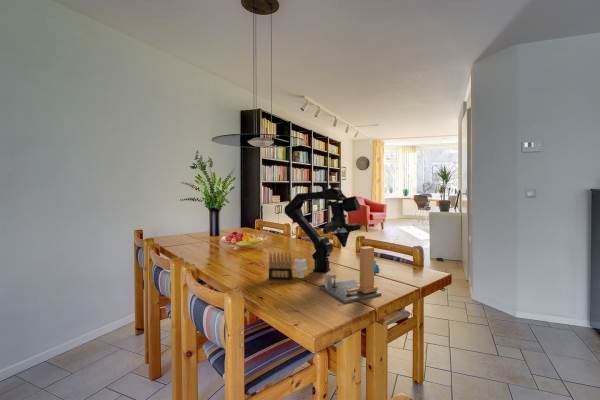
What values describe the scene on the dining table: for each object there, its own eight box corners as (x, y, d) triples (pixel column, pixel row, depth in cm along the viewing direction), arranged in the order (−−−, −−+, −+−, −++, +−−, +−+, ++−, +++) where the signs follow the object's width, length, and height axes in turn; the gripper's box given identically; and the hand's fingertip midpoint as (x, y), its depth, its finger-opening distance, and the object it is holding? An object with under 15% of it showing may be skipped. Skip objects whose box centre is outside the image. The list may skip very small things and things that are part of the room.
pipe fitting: (299, 273, 137) (299, 257, 136) (310, 277, 132) (310, 259, 131) (290, 277, 132) (289, 259, 132) (301, 280, 127) (300, 262, 127)
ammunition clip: (292, 278, 130) (292, 252, 129) (292, 280, 128) (291, 253, 127) (269, 278, 131) (268, 251, 131) (268, 279, 129) (267, 252, 129)
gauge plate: (319, 288, 117) (319, 273, 117) (353, 281, 125) (353, 268, 124) (344, 303, 102) (344, 286, 101) (381, 295, 109) (381, 279, 109)
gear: (375, 272, 133) (362, 254, 137) (366, 279, 135) (353, 262, 140) (384, 269, 142) (371, 253, 146) (375, 276, 144) (362, 260, 149)
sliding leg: (343, 292, 109) (343, 248, 108) (368, 286, 114) (368, 245, 114) (351, 296, 105) (351, 251, 104) (377, 290, 110) (377, 247, 109)
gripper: (312, 218, 138) (318, 251, 137) (342, 214, 124) (348, 250, 123) (328, 215, 145) (333, 246, 144) (358, 210, 131) (364, 245, 130)
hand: (344, 247), depth 135 cm, fingers closed
